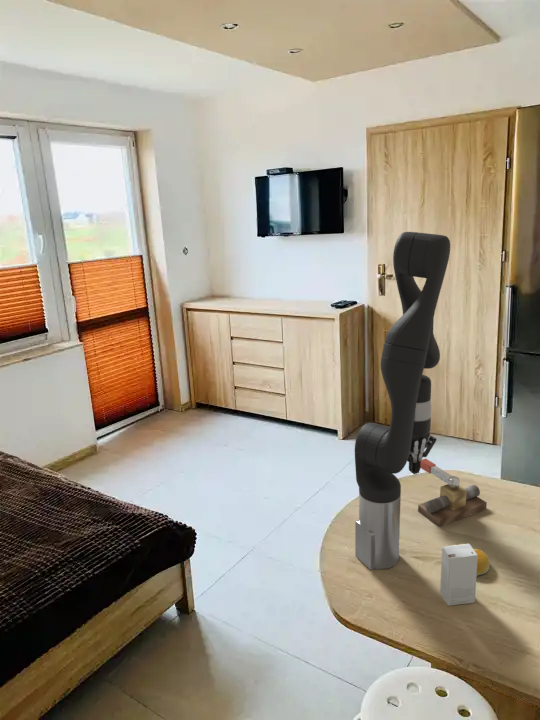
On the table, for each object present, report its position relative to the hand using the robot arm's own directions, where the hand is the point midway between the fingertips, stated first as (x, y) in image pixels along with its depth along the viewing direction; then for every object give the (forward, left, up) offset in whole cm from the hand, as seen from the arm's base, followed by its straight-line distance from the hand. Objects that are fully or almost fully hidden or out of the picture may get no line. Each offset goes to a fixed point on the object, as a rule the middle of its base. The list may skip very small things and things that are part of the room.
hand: (414, 472), depth 153 cm
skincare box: (-17, -35, -8) cm, 40 cm away
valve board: (+5, -10, -8) cm, 13 cm away
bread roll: (-8, -28, -8) cm, 30 cm away
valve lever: (+5, -5, -1) cm, 7 cm away
